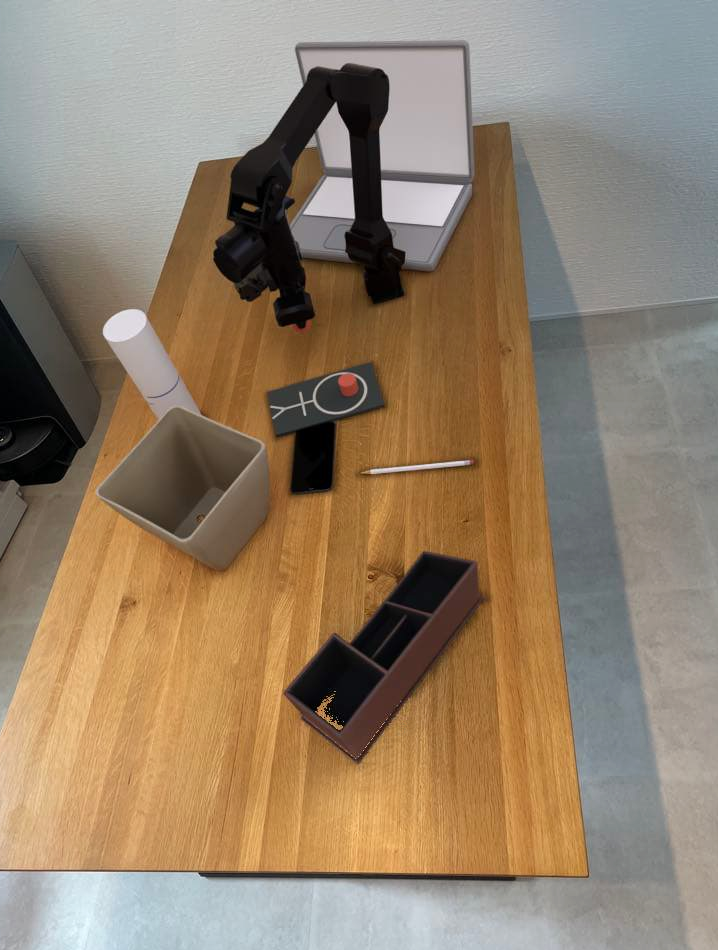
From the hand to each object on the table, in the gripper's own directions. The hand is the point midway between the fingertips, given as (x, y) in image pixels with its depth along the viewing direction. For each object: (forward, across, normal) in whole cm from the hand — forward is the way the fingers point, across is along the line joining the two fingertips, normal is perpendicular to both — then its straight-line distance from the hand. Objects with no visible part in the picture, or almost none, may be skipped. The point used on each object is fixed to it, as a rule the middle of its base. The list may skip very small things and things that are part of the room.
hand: (300, 321), depth 120 cm
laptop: (+10, -37, +20) cm, 43 cm away
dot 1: (+1, 0, 0) cm, 1 cm away
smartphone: (+11, +22, -3) cm, 25 cm away
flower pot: (+11, +32, -21) cm, 40 cm away
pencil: (+10, +30, +13) cm, 35 cm away
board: (+10, +10, 0) cm, 14 cm away
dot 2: (+9, +10, +5) cm, 15 cm away
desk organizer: (+11, +62, +3) cm, 62 cm away
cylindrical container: (+11, +8, -26) cm, 29 cm away
